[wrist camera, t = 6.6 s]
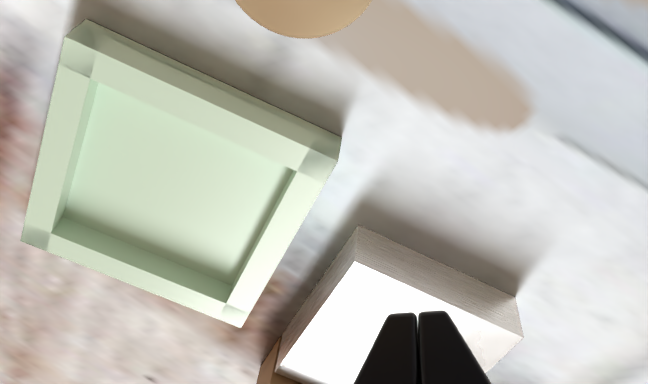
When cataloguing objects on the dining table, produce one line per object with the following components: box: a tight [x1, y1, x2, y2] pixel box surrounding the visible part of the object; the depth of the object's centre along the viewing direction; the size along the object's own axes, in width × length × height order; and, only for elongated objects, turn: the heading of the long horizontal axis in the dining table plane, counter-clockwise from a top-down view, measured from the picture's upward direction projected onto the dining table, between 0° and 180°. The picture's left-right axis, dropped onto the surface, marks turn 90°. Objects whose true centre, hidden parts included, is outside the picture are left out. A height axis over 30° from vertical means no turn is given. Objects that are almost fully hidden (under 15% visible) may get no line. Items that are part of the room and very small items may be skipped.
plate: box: [275, 225, 524, 384], centre depth 25 cm, size 7×7×2 cm
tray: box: [21, 19, 342, 328], centre depth 22 cm, size 9×9×2 cm
